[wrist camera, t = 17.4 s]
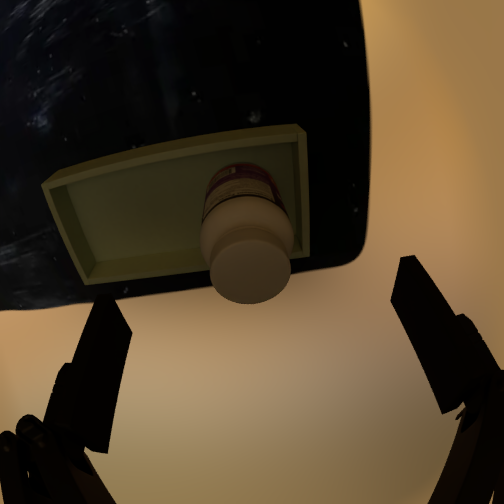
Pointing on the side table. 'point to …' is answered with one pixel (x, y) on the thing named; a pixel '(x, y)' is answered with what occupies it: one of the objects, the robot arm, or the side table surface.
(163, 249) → the tray
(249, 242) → the pill bottle
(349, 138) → the side table surface
